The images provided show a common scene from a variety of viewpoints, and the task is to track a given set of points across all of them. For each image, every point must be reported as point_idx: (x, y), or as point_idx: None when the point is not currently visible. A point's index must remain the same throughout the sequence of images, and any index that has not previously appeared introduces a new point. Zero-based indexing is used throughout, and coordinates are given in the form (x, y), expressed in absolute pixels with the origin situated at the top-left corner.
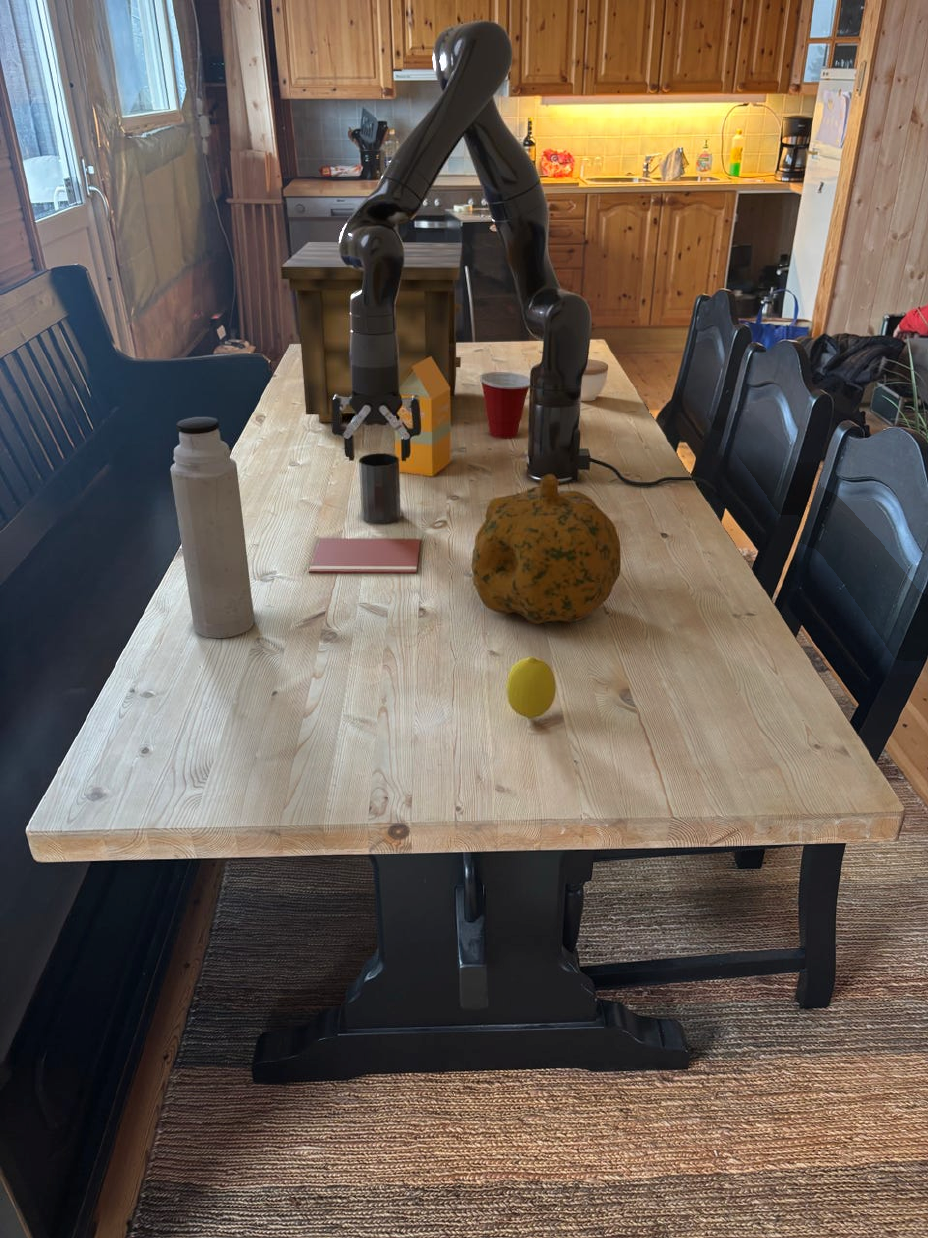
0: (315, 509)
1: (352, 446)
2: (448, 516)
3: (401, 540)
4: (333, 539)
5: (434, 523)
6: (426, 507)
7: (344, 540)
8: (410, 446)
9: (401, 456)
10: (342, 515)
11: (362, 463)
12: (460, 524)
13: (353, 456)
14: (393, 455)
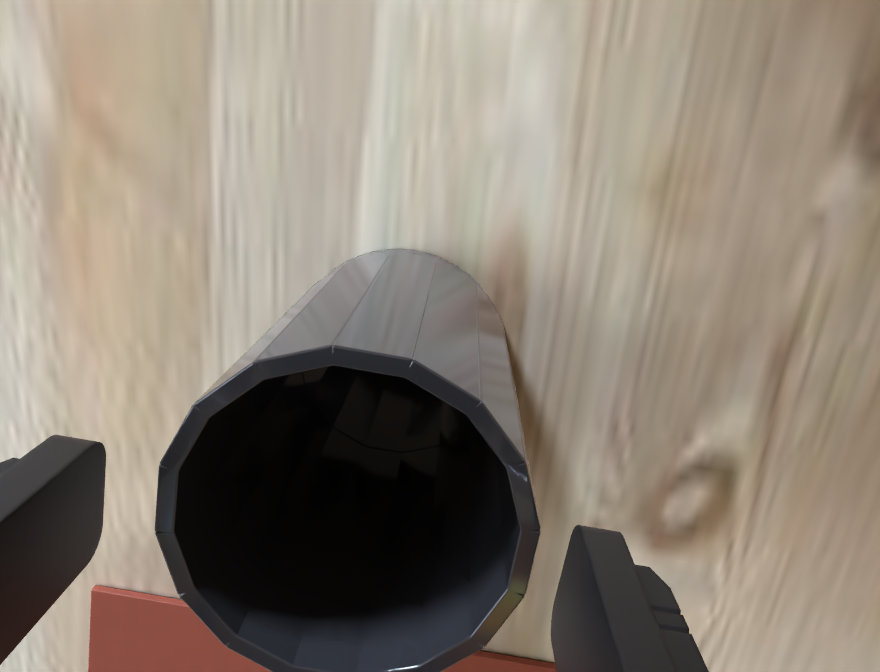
0: (23, 184)
1: (12, 648)
2: (765, 410)
3: (469, 668)
4: (155, 608)
5: (667, 486)
6: (674, 259)
7: (207, 628)
8: (688, 631)
9: (555, 660)
10: (185, 301)
11: (189, 599)
12: (797, 520)
13: (82, 544)
14: (496, 439)
